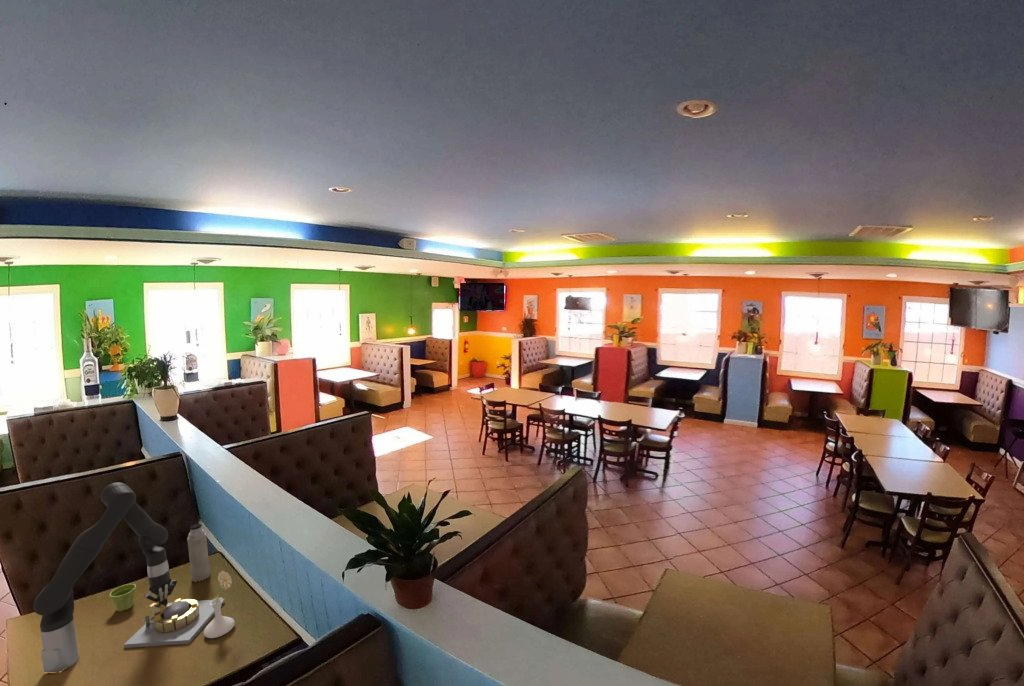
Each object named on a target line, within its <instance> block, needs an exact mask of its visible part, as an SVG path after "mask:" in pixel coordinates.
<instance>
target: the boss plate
mask: <svg viewBox="0 0 1024 686" xmlns="http://www.w3.org/2000/svg"><path fill="white" fill-rule="evenodd" d="M223 599H224V600H223V602H222V604H223V603H224V602H225V603H226V601H225V600H226V599H225V598H223ZM212 600H213V599H206V600H205V599H204V600H197V602H198V605H199V614H198V616H197V617H196V618H195V619H194V620H193V621H192V622H190V623H189V624H188V625H187V624H186V626H184V627H182V628H179V629H177V630H176V629H175V630H174V631H169V632H159V631H156V629H155V625H154V617H153V616H151V617H150V615H146V616H145V617H144V621H145V624H144V625H142V626H141V627H140V628H139V629H138V630H137V631H136V632H135V633H134V634H133V635H132V636H131V637H130V638H129V639H128V640H127V641H126V642H125V643H123V648H125V649H129V648H144V647H158V646H173V645H175V646H176V645H187V644H191V642H193V640H194V639H195V638H196V636H198V634H200V632H201V631H202V629H204V627H206V626H207V625H208V623H209V622H210V620H211V619H212V618H213V617H214V616H215V612H214V608H213V607H212V606H211V605H210V602H211V601H212ZM174 602H175V601H174ZM174 602H168V604H167V606H168V605H169V604H171V603H173V604H171V605H170V606H168V607H167V608H166V609H165V610H164V612H163V613H164V619H167V620H168V619H171V618H172V616H175V615H178V617H179V616H181V615H183V614H185V613H186V612H187V611H189V603H188V602H187V601H180V602H176V603H174ZM225 603H224V604H225ZM222 604H221V607H222V606H223V605H224V604H223V605H222Z"/></svg>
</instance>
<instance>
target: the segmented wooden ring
mask: <svg viewBox="0 0 1024 686" xmlns="http://www.w3.org/2000/svg"><path fill="white" fill-rule="evenodd" d="M180 601H187V602H188V603H189V611H187V612H186V613H185V614H183V615H181V616H179V617H178V615H175V616H172V618H171V619H168V620H167V619H164V613H163V612H164V610H165V609H166V608H167V607H168V606H170V605H171V604H173V603H171V602H170V603H171V604H169V605H168V606H165V605H162V604H159V603H157V602H153V603H152V604H150V605H149V617H154V625H155V629H156V631H159V632H169V631H174V630H175V629H176V630H177V629H179V628H182V627H184V626H186V624H187V625H188V624H189V623H190V622H192V621H193V620H194V619H195V618H196V617H197V616H198V614H199V605H198V602H197V601H198V600H197V599H192V598H186V599H185V598H184V599H182V598H181V597H180V598H177V599H175V600H174V603H176V602H180Z"/></svg>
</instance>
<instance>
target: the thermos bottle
mask: <svg viewBox="0 0 1024 686" xmlns="http://www.w3.org/2000/svg"><path fill="white" fill-rule="evenodd" d="M189 531H190V532H189V533H188V536H187V549H188V557H189V568H190V577H191V578H190V579H191V581H192V582H193V581H194V582H193V583H198V582H197V581H199V582H202V581H205V580H206V578H207V579H208V578H210V576H211V567H210V559H209V548H208V540H207V539H208V538H207V533H206V532H205V529H203V527H202V524H201V523H195V524H192V525H190V527H189ZM204 579H205V580H204ZM201 580H202V581H201Z"/></svg>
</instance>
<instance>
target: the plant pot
mask: <svg viewBox="0 0 1024 686" xmlns="http://www.w3.org/2000/svg"><path fill="white" fill-rule="evenodd" d="M136 587H137V585H136V584H135V583H127V584H123V585H121V586H118V587H117V588H114V589H113V590H112V591H111V592H110V593H109V597H111V599H112V601H113V603H114V606H115V611H117V612H123V611H125V610H126V611H127V610H128V609H130V608H132V607H133V606H134V603H135V601H134V600H135V591H136Z"/></svg>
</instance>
